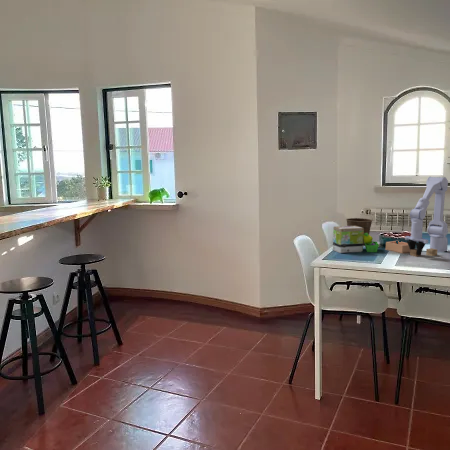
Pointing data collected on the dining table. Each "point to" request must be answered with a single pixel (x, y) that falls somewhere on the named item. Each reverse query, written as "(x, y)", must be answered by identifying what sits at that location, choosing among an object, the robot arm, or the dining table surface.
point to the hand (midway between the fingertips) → (415, 254)
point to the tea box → (348, 239)
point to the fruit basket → (370, 243)
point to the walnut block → (414, 252)
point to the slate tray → (401, 253)
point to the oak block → (431, 252)
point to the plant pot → (360, 224)
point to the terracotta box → (398, 247)
